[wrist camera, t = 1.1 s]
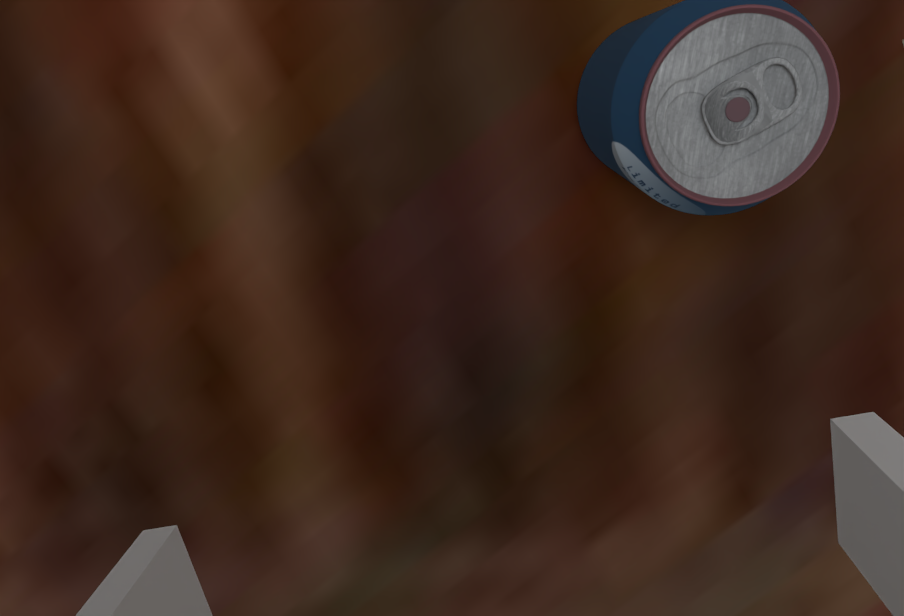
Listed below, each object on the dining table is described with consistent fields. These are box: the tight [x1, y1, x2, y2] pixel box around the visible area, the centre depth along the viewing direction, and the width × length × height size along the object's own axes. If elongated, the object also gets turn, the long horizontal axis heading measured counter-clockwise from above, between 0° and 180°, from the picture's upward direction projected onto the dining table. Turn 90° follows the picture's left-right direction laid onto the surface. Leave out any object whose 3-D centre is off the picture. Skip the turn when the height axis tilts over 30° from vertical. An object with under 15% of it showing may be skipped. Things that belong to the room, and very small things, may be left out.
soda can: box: [577, 0, 840, 215], centre depth 26 cm, size 7×7×12 cm
